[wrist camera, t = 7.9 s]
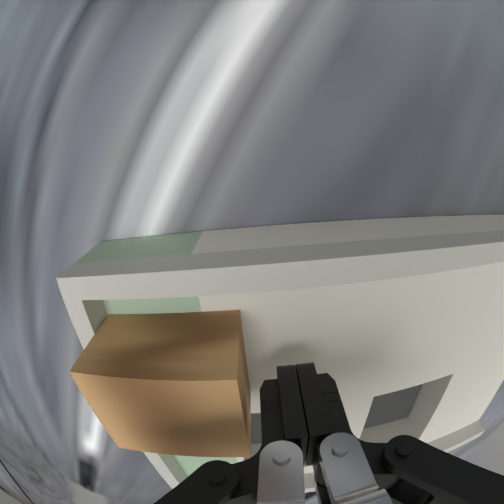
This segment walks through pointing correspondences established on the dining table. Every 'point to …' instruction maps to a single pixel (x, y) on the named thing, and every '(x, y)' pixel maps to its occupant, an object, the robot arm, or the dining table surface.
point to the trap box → (329, 314)
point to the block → (170, 382)
